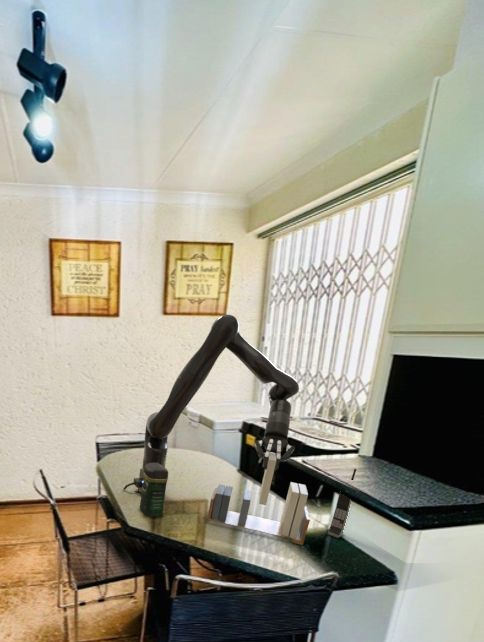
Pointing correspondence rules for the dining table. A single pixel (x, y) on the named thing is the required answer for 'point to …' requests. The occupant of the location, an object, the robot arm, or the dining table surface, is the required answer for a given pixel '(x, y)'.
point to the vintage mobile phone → (340, 514)
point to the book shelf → (263, 523)
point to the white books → (293, 509)
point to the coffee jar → (153, 490)
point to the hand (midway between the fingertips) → (270, 469)
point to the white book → (267, 478)
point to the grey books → (223, 504)
